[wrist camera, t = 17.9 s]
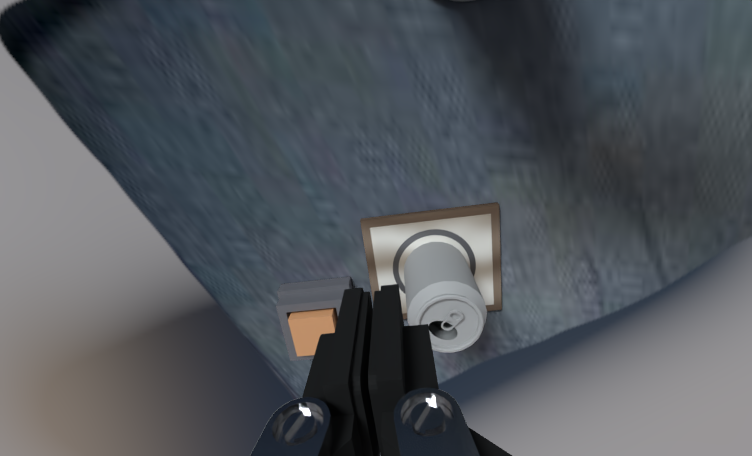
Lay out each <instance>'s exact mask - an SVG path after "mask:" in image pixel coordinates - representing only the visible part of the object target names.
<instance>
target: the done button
mask: <svg viewBox="0 0 752 456" xmlns="http://www.w3.org/2000/svg"><path fill="white" fill-rule="evenodd" d="M337 320H338V315H337V310H336V308H326V309H316V310H306V311H296V312H291V314H290V316H289V319H288V323H289V326H290V330H291V334H292V338H293V342H294V346H295V350H296V354H297V357H298V356H309V355H315V351H316V348H317V344H318V341H319V338H320V335H321V334H327V333H335V328H336V324H337Z"/></svg>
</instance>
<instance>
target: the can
mask: <svg viewBox="0 0 752 456" xmlns="http://www.w3.org/2000/svg"><path fill="white" fill-rule="evenodd" d="M404 281H405V294H406V306H407V319H408V323H409V326H413V325H424V324H428V326H429V332H430V339H431V345H432V350H435V351H438V352H442V353H454V352H458V351H462V350H464V349H466V348H468V347H470V346H471V345H473V344H474V343H475V342H476V341H477V340H478V339H479V337H480V335H481V333H482V331H483V326H484V324H485V322H486V316H487V309H486V305H485V302H484V299H483V297H482V295H481V292H480V290H479V288H478V286H477V284H476V281H475V279H474V277H473V275H472V272H471V270H470V268H469V266H468V264H467V261H466V259H465V257H464V256H463V254H462V253H461V252H460V250H458V249H457V248H456V247H454V246H453V245H451V244H448V243H444V242H429V243H426V244H422V245H421V246H419V247H417V248H416V249H414V250H413V251H412V253H411V254H410V255H409V256H408V257H407V260H406V263H405V265H404Z"/></svg>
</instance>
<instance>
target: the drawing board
mask: <svg viewBox="0 0 752 456" xmlns="http://www.w3.org/2000/svg"><path fill="white" fill-rule="evenodd" d="M360 222H361V228H362V234H363V240H364V247H365V253H366V259H367V265H368V271H369V278H370V284H371V290H372V296H373V302H374V292H375V291H380V290H381V286H383V285H393V284H398V285H399V291H400V298H401V306H402V314H403V319H407V306H406V294H405V281H404V265H405V263H406V260H407V257H408V256H409V255H410V254H411V253H412V251H413V250H414V249H416V248H417V247H419V246H421V245H422V244H426V243H429V242H444V243H448V244H451V245H453V246H454V247H456V248H457V249H458V250H460V252H461V253H462V254H463V256H464V257H465V259H466V261H467V264H468V266H469V268H470V270H471V272H472V275H473V277H474V279H475V281H476V284H477V286H478V288H479V290H480V292H481V295H482V297H483V299H484V302H485V305H486V309H487V311H493V310H502V301H501V260H500V218H499V204H498V203H488V204H480V205H472V206H463V207H455V208H446V209H438V210H430V211H421V212H413V213H405V214H396V215H388V216H380V217H371V218H363V219H361V220H360Z"/></svg>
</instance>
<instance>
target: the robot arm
mask: <svg viewBox="0 0 752 456" xmlns="http://www.w3.org/2000/svg"><path fill="white" fill-rule="evenodd" d="M451 1H460V2H464V1H474V0H451ZM380 454H381V456H512V455H510V454H509V453H507V452H506V451H504V450H502V449H501V448H499V447H498V446H496V445H495V444H493V443H492V442H490V441H489V440H487V439H486V438H484V437H483V436H481V435H480V434H478V433H476V432H475V431H473V430H472V429H470V428H469V427H468V426H467V424H466V422H465V419H464V416H463V414H462V411H461V409H460V406H459V405H458V403H457V402H456V400H455V399H454V398H453V397H452V396H451V395H449V394H448V393H446V392H444V391H442V390H439V388H438V382H437V376H436V370H435V363H434V357H433V351H432V345H431V339H430V332H429V326H428V324H424V325H413V326H404V321H403V314H402V306H401V298H400V291H399V285H398V284H393V285H383V286H381V290H380V291H375V292H374V303H373V308H372V302H371V296H370V292H364V291H363V288H354V289H345V290H344V293H343V298H342V302H341V306H340V311H339V315H338V320H337V324H336V328H335V333H327V334H321V335H320V338H319V341H318V344H317V348H316V351H315V355H314V358H313V362H312V365H311V369H310V372H309V376H308V379H307V383H306V386H305V390H304V393H303V397H302V398H298V399H295V400H292V401H290V402H288V403H286V404H284V405H283V406H281V407H280V408H279V409H278V410H277V411H275V412H274V414H273V415H272V416H271V418H270V419H269V421H268V422H267V424H266V426H265V428H264V430H263V432H262V434H261V436H260V437H259V439H258V441H257V443H256V445H255V447H254V449H253V451H252V453H251V454H250V456H380Z"/></svg>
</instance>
